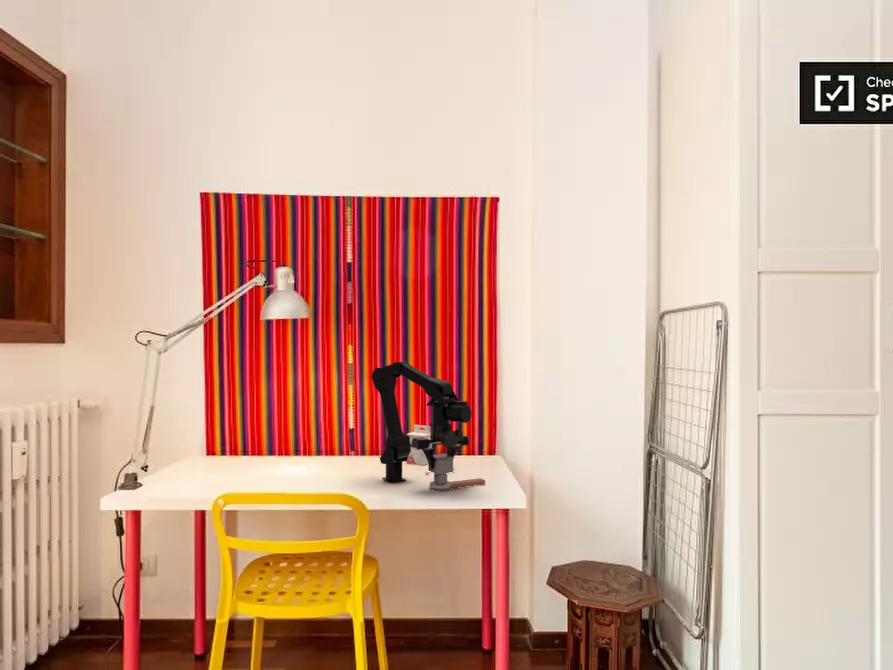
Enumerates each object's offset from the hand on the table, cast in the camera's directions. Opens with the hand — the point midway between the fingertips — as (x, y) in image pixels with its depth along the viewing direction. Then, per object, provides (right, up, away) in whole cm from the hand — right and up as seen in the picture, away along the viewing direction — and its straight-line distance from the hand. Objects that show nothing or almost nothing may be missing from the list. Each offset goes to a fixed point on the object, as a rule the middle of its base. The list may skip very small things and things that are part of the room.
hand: (440, 468), depth 205 cm
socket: (0, -1, 0) cm, 1 cm away
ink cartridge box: (-9, -7, +41) cm, 43 cm away
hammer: (+6, -7, +3) cm, 9 cm away
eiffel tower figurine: (+1, -8, +26) cm, 27 cm away
